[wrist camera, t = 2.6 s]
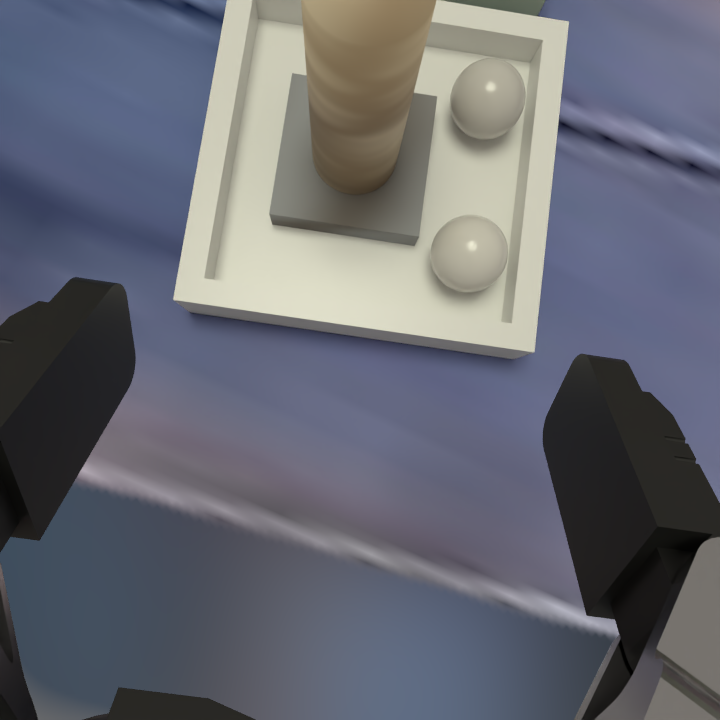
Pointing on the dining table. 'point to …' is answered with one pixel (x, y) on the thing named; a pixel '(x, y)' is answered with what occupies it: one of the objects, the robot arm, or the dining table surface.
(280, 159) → the ball
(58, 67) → the dining table surface
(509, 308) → the cream square tray
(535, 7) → the tray
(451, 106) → the pebble
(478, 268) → the pebble
